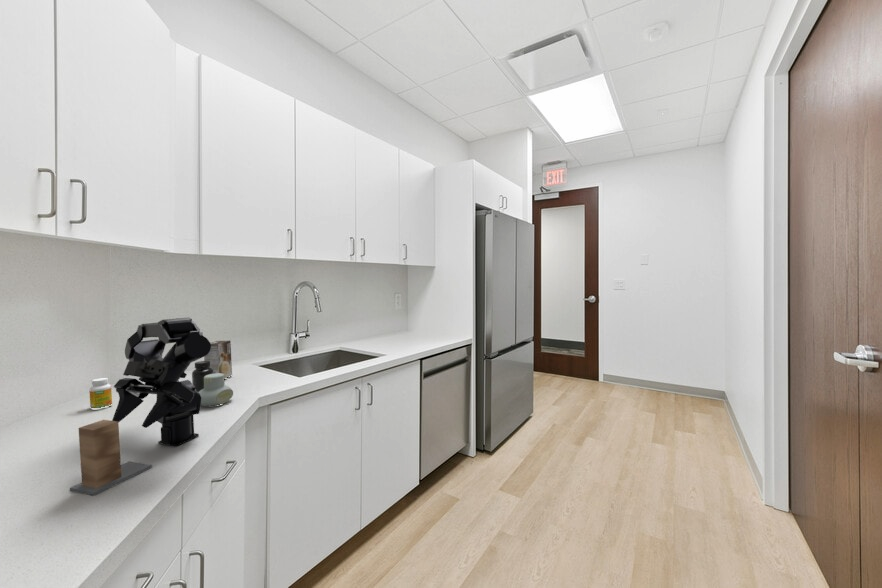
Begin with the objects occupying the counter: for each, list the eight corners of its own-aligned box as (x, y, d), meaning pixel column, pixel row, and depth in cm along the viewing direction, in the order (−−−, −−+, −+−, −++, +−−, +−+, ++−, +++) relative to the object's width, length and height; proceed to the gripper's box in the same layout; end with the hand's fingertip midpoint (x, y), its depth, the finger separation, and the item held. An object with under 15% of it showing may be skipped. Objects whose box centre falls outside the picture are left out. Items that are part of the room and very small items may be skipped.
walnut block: (106, 473, 79) (103, 419, 78) (121, 476, 78) (118, 421, 77) (81, 485, 75) (78, 427, 74) (97, 488, 73) (93, 430, 73)
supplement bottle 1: (93, 411, 119) (91, 382, 118) (88, 408, 121) (86, 380, 121) (114, 406, 123) (113, 378, 123) (109, 404, 126) (107, 376, 126)
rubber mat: (129, 463, 84) (128, 461, 84) (151, 467, 83) (151, 464, 82) (69, 490, 74) (69, 487, 74) (94, 495, 72) (94, 492, 72)
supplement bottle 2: (190, 394, 136) (188, 362, 135) (210, 389, 141) (209, 359, 140) (196, 397, 131) (194, 365, 131) (217, 393, 136) (216, 361, 136)
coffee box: (218, 376, 160) (216, 340, 159) (232, 376, 160) (231, 340, 159) (204, 382, 151) (202, 344, 150) (220, 382, 151) (218, 344, 150)
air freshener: (210, 410, 118) (209, 380, 118) (191, 408, 120) (189, 378, 120) (237, 399, 129) (236, 371, 128) (219, 397, 131) (218, 370, 131)
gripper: (120, 345, 88) (66, 405, 78) (179, 347, 83) (129, 412, 73) (155, 369, 96) (110, 427, 86) (211, 372, 91) (170, 434, 81)
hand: (128, 425), depth 81 cm, fingers open, 9 cm apart
